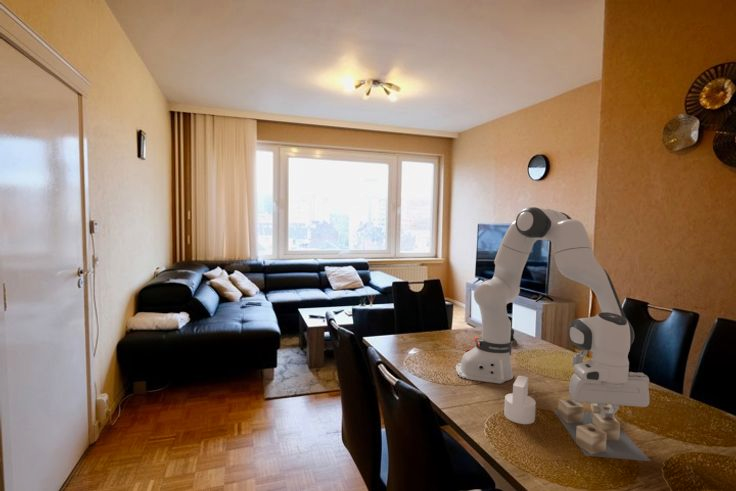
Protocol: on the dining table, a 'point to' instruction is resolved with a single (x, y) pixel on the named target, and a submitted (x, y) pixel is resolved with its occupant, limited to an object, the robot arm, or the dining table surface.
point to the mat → (608, 442)
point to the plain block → (607, 426)
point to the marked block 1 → (570, 411)
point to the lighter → (579, 357)
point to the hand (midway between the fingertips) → (607, 417)
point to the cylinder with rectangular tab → (520, 403)
